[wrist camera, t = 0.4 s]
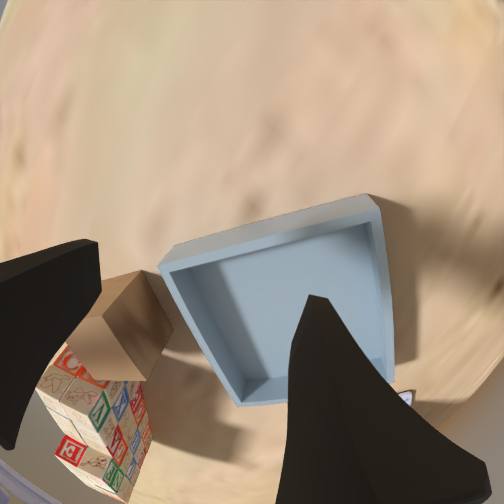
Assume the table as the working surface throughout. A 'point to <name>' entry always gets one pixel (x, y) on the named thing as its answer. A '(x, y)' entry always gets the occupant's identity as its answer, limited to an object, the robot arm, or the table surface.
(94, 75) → the table surface
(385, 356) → the tray
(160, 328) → the walnut block
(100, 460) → the stack of blocks
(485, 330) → the table surface
